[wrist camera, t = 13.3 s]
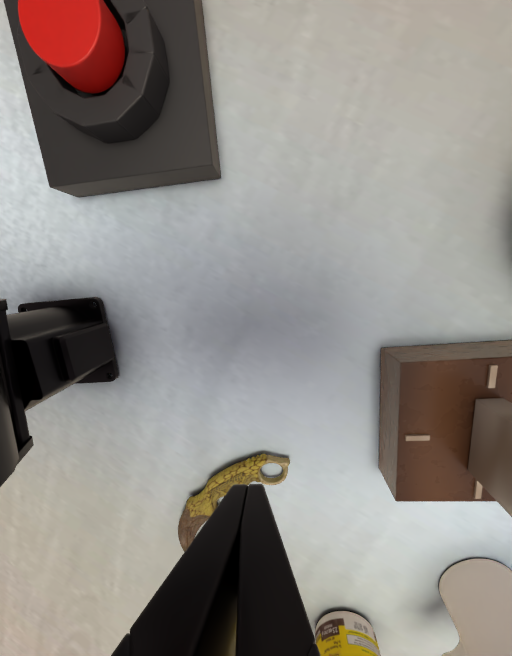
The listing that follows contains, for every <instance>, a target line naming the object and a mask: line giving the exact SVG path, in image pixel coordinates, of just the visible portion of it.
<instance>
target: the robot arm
mask: <svg viewBox="0 0 512 656" xmlns="http://www.w3.org/2000/svg"><path fill="white" fill-rule="evenodd" d="M93 302H95V303H96V307H95V306H94V305H93ZM26 309H27V311H26ZM6 310H8V307H7V301H6V299H0V487H1V485H2V484H3V483H4V482H5V481H6V480H7V479H8V477H9V476H10V475H11V474H12V473H13V472H14V470H15V468H16V466H17V464H18V463H19V462H20V461H21V460H22V458H23V457H24V456H25V455H26V454H27V452H28V451H29V450H30V449H31V448H32V446H33V439H32V436H29V430H28V425H27V420H26V415H25V411H26V410H28V409H30V408H32V407H33V406H35V405H37V404H39V403H41V402H42V401H44V400H46V399H48V398H49V397H51V396H53V395H55V394H57V393H58V392H60V391H62V390H64V389H65V388H67V387H69V386H71V385H73V384H75V383H94V382H111V381H114V380H115V379H117V378H118V376H119V373H118V368H117V364H116V359H115V353H114V349H113V344H112V340H111V335H110V331H109V327H108V324H107V319H106V315H105V310H104V306H103V302H102V300H101V299H99V298H97V297H92V298H81V299H69V300H58V301H47V302H36V303H25V304H20V305H19V306H18V312H19V313H15V314H9V315H6ZM110 373H111V374H112V375H113V376H111V375H110ZM111 656H321V655H320V652H319V649H318V646H317V644H315V638H314V635H313V632H312V629H311V626H310V623H309V620H308V617H307V614H306V611H305V608H304V605H303V602H302V599H301V596H300V593H299V590H298V587H297V584H296V581H295V578H294V575H293V572H292V569H291V566H290V563H289V560H288V557H287V554H286V551H285V548H284V545H283V542H282V539H281V536H280V533H279V530H278V527H277V524H276V521H275V518H274V515H273V512H272V509H271V507H270V504H269V501H268V498H267V495H266V492H265V489H264V486H263V485H262V484H250V485H249V486H248V485H246V484H234V485H233V486H232V487H231V488H230V489H229V491H228V492H227V494H226V495H225V496H224V498H223V499H222V501H221V502H220V503H219V505H218V506H217V508H216V509H215V510H214V512H213V513H212V515H211V516H210V517H209V519H208V520H207V522H206V523H205V524H204V526H203V527H202V529H201V530H200V532H199V533H198V534H197V536H196V537H195V539H194V540H193V541H192V543H191V544H190V546H189V547H188V548H187V550H186V551H185V553H184V554H183V555H182V557H181V558H180V560H179V561H178V562H177V564H176V565H175V567H174V568H173V569H172V571H171V572H170V574H169V575H168V576H167V578H166V579H165V581H164V582H163V584H162V585H161V586H160V588H159V589H158V591H157V592H156V593H155V595H154V596H153V598H152V599H151V600H150V602H149V603H148V605H147V606H146V607H145V609H144V610H143V612H142V613H141V614H140V616H139V617H138V619H137V620H136V621H135V623H134V624H133V626H132V627H131V629H130V634H129V633H128V634H126V635H125V637H124V638H123V639H122V641H121V642H120V644H119V645H118V646H117V648H116V649H115V651H114V652H113V654H112V655H111Z"/></svg>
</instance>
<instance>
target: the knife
mask: <svg viewBox="0 0 512 656" xmlns="http://www.w3.org/2000/svg"><path fill="white" fill-rule="evenodd" d="M267 463H276V464H279V465H280V466H281V467H282V468H283V473H282V474H281V475H280V476H278V477H276V478H267V477H265V476H264V475H262V473H261V472H260V469H261V468H262V466H263V465H265V464H267ZM289 464H290V460H289V458H281V457H275V456H272V455H266V454H261V455H260V456H259V455H257V456H256V457H254V456H253V457H252V459H250V458H248V459H247V461H246V460H243V462H238V463H236V464H234V465H232V466H230V467H228V468H226V469H224V470H222V471H221V472H219V473H218V474H216V475H215V476H213V477H212V478H211V479H209V480H208V482H207V485H206V487H205V488H204V490H203V491H202V492H201V493H199V494H198V495H196V496H191V497H190V498H189V499H188V500H187V503H186V507H185V510H184V511H183V513H182V515H181V518H180V521H179V526H178V535H179V540H180V544H181V546H182V548H183V550H184V552H185V551H186V550H187V548H188V547H189V546H190V544H191V543H192V541H193V540H194V537H195V535H196V533H197V531H198V530H199V528H200V527H201V525H202V524H203V523H204V522H206V521H207V520H208V519H209V517H210V516H211V515H212V513H213V512H214V510H215V509H216V508H217V506H218V505H217V504H216V503H217V500H218V499H219V498H220V497H222V496H225V495H226V494H227V492H228V491H229V489H230V488H231V487H232V486H233V485H234V484H246V485H248V484H249V483H251V482H252V481H256V482H261V483H263V484H266V485H276V484H279V483H281V482H282V481H284V479H285V478H286V476H287V472H288V465H289Z"/></svg>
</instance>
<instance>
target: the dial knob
mask: <svg viewBox="0 0 512 656" xmlns="http://www.w3.org/2000/svg"><path fill="white" fill-rule="evenodd" d="M468 471H469V472H470V473H471V474H472V475H473V477H474V478H475V479H476V480H477V481H478V482H479V483H480V484H481V485H482V486H483V487H484V488H485V489H486V490H487V491H488V492H489V493H490V494H491V496H492V497H493V498H494V499H495V500H496V501H497V502H498V503H499V504H500V505H501V506H502V507H503V508H504V509H505V510H506V511H507V512H508V513H509V515H510V516H511V517H512V403H510V402H509V401H507V400H505V399H503V398H493V399H476V402H475V410H474V419H473V428H472V437H471V445H470V454H469V463H468Z"/></svg>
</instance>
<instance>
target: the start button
mask: <svg viewBox="0 0 512 656" xmlns="http://www.w3.org/2000/svg"><path fill="white" fill-rule="evenodd" d="M18 14H19V20H20V24H21V28H22V31H23V33H24V36H25V38H26V40H27V41H28V43H29V45H30V46H31V48H32V49H33V50H34V52H35V53H36V54H37V55H38V56H39V57H40V58H41V59H42V60H43V61H44V62H46V63H47V64H48V65H49V66H50V67H51V68H52V69H53V70H54V71H56V72H57V73H58V74H59V75H60V76H61V77H62V78H63V79H65V80H66V81H67V82H68V83H69V84H70V85H71V86H73V87H74V88H76V89H77V90H79V91H82V92H85V93H91V94H95V93H100V92H103V91H105V90H107V89H109V88H110V87H111V86H112V85H113V84H114V83H115V82H116V81H117V79H118V78H119V76H120V74H121V72H122V69H123V65H124V60H125V45H124V39H123V35H122V32H121V29H120V27H119V25H118V23H117V21H116V19H115V18H114V16H113V15H112V13H111V11H110V10H109V8H108V7H107V5H106V4H105V2H104V1H103V0H18Z"/></svg>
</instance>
